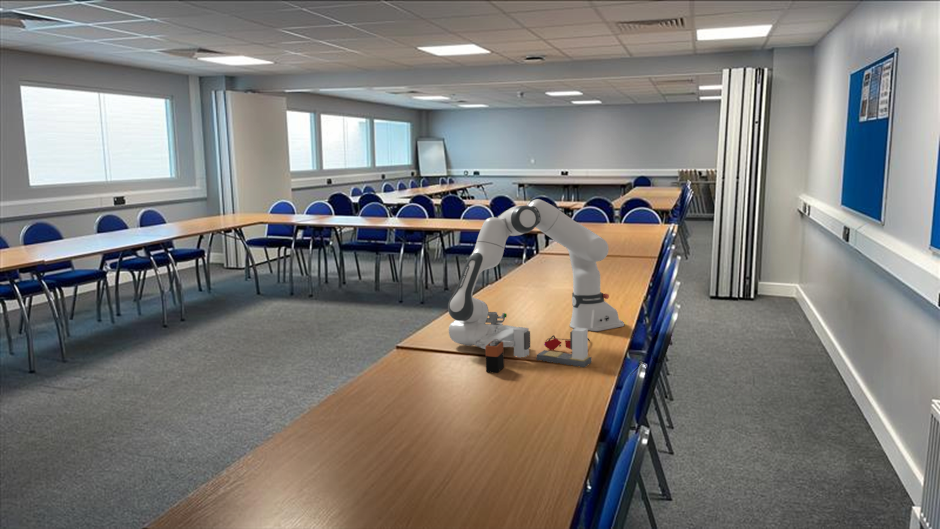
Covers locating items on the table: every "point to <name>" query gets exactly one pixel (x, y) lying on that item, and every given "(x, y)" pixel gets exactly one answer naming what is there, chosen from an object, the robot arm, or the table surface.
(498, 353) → the battery
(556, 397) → the table surface
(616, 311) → the robot arm
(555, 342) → the glasses
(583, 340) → the block
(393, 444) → the table surface
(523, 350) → the block
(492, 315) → the mechanical component
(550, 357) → the rail
